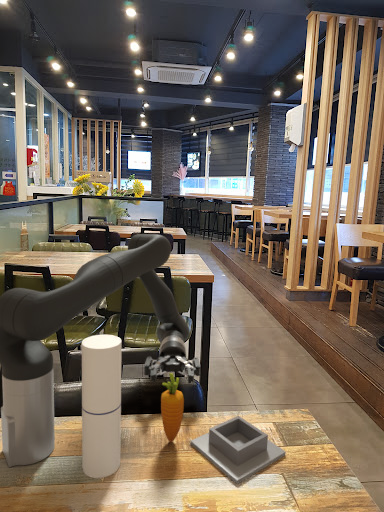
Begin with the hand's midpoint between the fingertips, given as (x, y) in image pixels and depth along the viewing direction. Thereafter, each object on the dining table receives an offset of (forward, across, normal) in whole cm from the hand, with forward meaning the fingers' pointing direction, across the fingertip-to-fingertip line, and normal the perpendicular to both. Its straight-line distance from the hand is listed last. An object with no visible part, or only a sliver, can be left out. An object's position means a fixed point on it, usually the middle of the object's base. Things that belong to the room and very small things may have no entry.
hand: (172, 379), depth 89 cm
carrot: (+11, 0, +9) cm, 14 cm away
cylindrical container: (+18, -13, +9) cm, 24 cm away
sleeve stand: (+14, +14, +9) cm, 21 cm away
